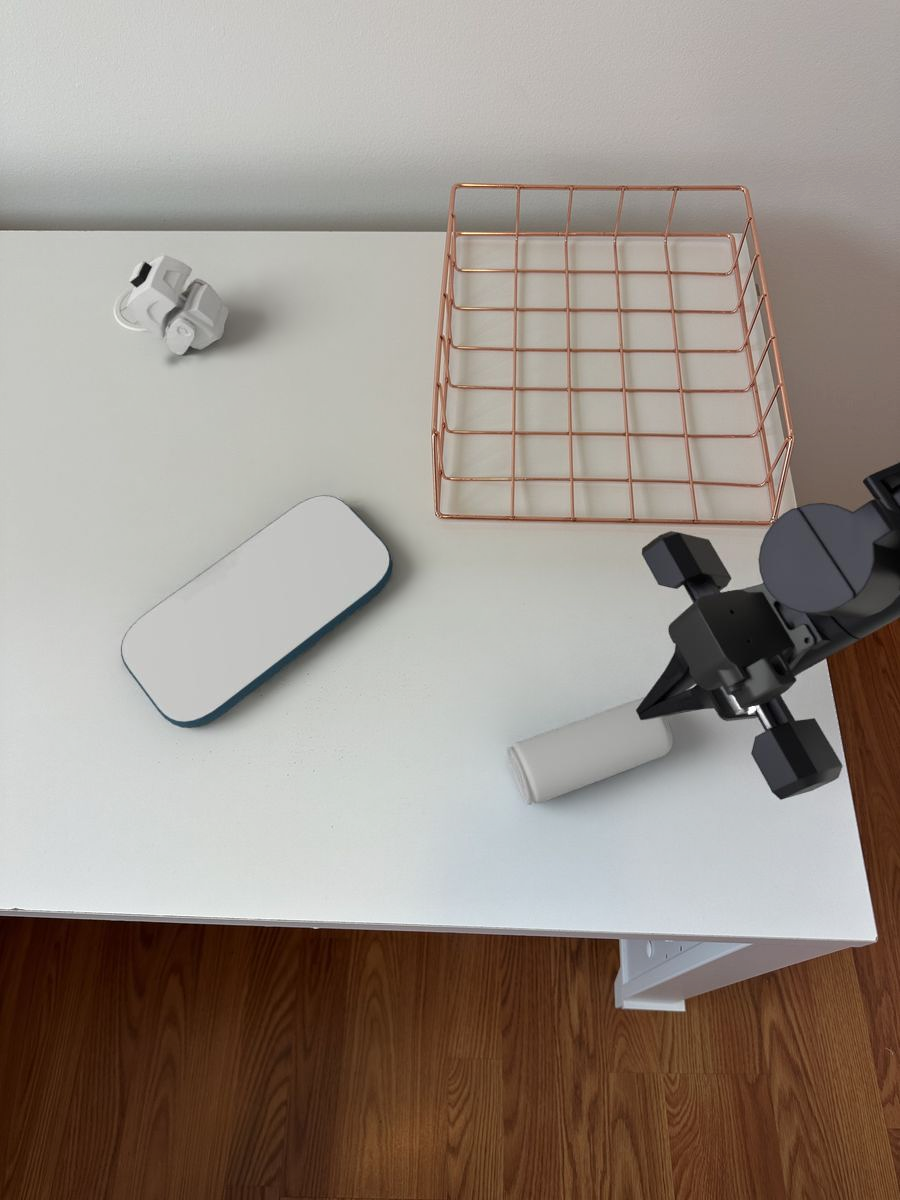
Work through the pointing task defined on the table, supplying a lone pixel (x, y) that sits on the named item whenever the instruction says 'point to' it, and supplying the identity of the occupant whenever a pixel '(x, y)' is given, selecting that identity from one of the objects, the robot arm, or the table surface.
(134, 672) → the external hard drive
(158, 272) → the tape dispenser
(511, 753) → the beverage can
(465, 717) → the table surface
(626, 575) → the table surface
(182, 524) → the table surface
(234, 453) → the table surface
